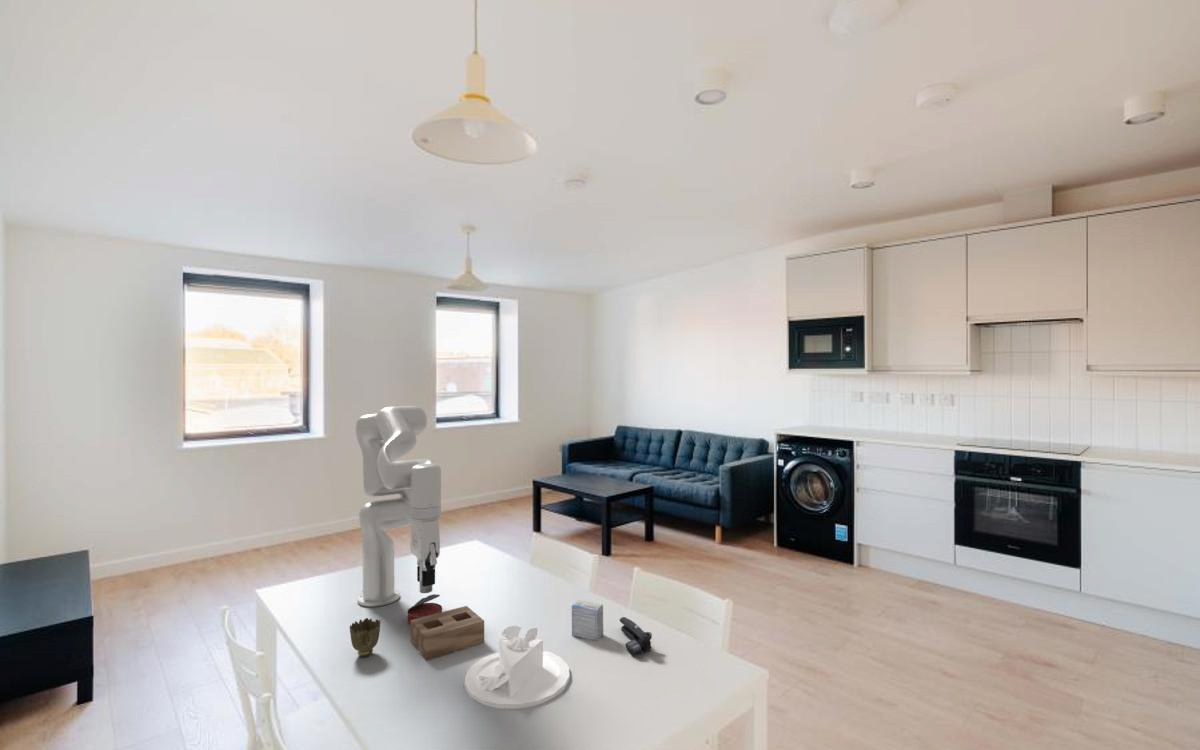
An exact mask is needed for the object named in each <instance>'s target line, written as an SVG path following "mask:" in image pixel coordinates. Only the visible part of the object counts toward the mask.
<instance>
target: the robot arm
mask: <svg viewBox="0 0 1200 750" xmlns="http://www.w3.org/2000/svg"><path fill="white" fill-rule="evenodd" d="M427 423H428V418H427V414H426V412H425V410H424V409H423V408H422V407H421V406H418V405H400V406H399V405H397V406H387V407H384V408H382V409H380V410H379V411H378V413H370V414H364V415H361V416H360V417H358V419H357V420H356V422H355V435H356V439H357V441H358V445H359V447H360V451H361V453H362V454H361V456H362V479H363V480H362V481H363V491H364V493H365V495H367V496H368V497H372V498H373V497H374V498H375V497H385V496H393V495H399V497H396V498H390V499H389V498H387V499H381V500H373V501H369V502H366V503H365V504H364V505H362V506H361V507H360V509H359V515H358V519H359V524H360V528H361V529H360V530H361V541H362V542H361V543H362V546H361V547H362V593H361V594H360V595H358V597H357V603H358V605H360V606H363V607H371V608H372V607H380V606H381V607H382V606H387V605H389V604H391V603H394V602H396V601H397V600H398V599H399V598H400V591H399V590H398V589H395V542H394V540H393V538H392V537H391V536H390V535H389V534H388V533H387V532H386V531H390V530H393V529H401V528H405V527H406V528H407V527H409V526H411V530H410V547H409V548H410V553H411V554H412V555H413V556H415V557H416V559H417V560H416V564H417V567H416V568H417V571H416V572H417V573H416V577H417V578H416V579H417V582H418V583H420V560H421V561H423V571H422V586H423V587H425V586H430V585H435V584H436V565H437V564H438V560H437V559H438V558H439V557H440V555H441V553H440V552H441V551H440V550H441V537H440V535H441V534H440V522H439V520H440V519H441V518H442V470H441V466H440V465H439V464H438V463H435V461H434V460H432V459H430V458H418V459H406V460H398V459H400V458H402V457H404V456H406V455H407V454H409V453H411V451H413V449H414V448H415V446H416V444H417V436H418V435H421V434H422V433H423V432H424V431H425V430H426V428H427ZM427 556H430V557H428V558H427ZM427 561H430V562H428V563H427Z"/></svg>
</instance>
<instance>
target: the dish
mask: <svg viewBox="0 0 1200 750" xmlns="http://www.w3.org/2000/svg"><path fill="white" fill-rule="evenodd" d="M520 631H522V627H521V626H518V625H510V626H508V627H506V628H505V629H504V630H503V631H502V633H501V636H503V638H498V641H499V642H498V645H499V646H498V652H495V653H492V654H488V655H486V656H484V657H482V658H481V659H479V660H478V661H476V662H475V663H473V664H472V666H471V667H470V668H469V669H468V670H467V671H466V672H465V677H464V685H463V686H464V687H463V688H464V689H465V691H466V693H467V695H468V696H470V697H469V698H471V699H472V698H473V700H474V701H475V700H476V702H478V704H480V703H481V705H483V706H487V707H490V706H491V707H492V708H495V709H503V710H504V708H505V709H507V710H509V709H510V710H511V709H513V710H514V709H515V710H519V709H525V708H528V707H529V708H530V707H535V706H538V705H541V704H543V703H546V702H547V701H550V700H553V699H554V698H556V697H557V696H558V695H559V694H561V693H562V692H563V691H564V690H565V689H566V688H567V685H568V684H569V681H570V679H571V678H570V677H571V676H570V670H569V669H570V668H569V664H567V662H565V660H564V659H563V658H562V657H560V656H558V655H556V654H554V653H552V652H551V651H547V650H544V641H543V640H544V639H540V638H539V639H536V638H537V636H538V628H537V627H534V628H533V627H532V628H530V629H528V631H527V632H526V634H525V637H523V636H520V635H519V634H520Z"/></svg>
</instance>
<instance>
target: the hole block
mask: <svg viewBox="0 0 1200 750" xmlns="http://www.w3.org/2000/svg"><path fill="white" fill-rule="evenodd" d="M410 643H411V644H412V646H413V645H414V646H415V647H414V646H413V647H414V648H415V650H417V651H419V652H418V653H419V654H420V655H421V656H422V658H423V659H424V660H425V661H429V660H432V659H436V658H438V657H442V656H446V655H449V654H452V653H455V651H456V652H458V651H461V650H464V649H468V648H471V647H472V648H473V647H475V646H478V645H482V644H484V643H485V620H484V618H482V617H480V616H479V614H477V613H476V612H474V610H472V609H471V608H470V607H469V606H468V605H464V606H460V607H457V608H452V609H449V610H445V611H442V612H441V613H437V614H433V615H429V616H425V617H421V618H417V619H414V620H411V625H410Z"/></svg>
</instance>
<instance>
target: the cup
mask: <svg viewBox="0 0 1200 750" xmlns="http://www.w3.org/2000/svg"><path fill="white" fill-rule="evenodd" d="M348 628H349V633H350V640H351V641H350V642H351V646H352V647H353V648H354V650H356V651H357V655H358V656H359V657H361V658H366V657H369V656H371V655H372V654H373V653H374V652H373V651H374V648H375V647H376V646H377V645H378V641H379V637H380V632H381V631H380V630H381V620H380V619H378V618H376V619H375V621H374V620H373V619H372V618H368V617H366V618H364V620H362V619H359V621H358V622H357V621H354V622H352V623H351V624H350V625H349V627H348Z"/></svg>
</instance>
